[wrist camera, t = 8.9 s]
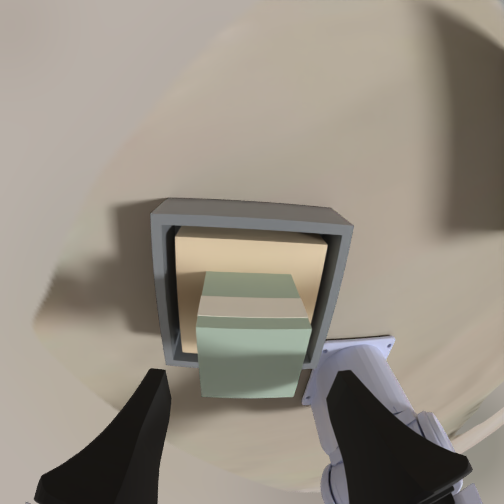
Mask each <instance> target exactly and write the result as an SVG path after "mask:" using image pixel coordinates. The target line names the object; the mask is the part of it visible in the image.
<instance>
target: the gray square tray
mask: <svg viewBox="0 0 504 504" xmlns="http://www.w3.org/2000/svg"><path fill="white" fill-rule="evenodd" d="M150 217H151V240H152V256H153V269H154V280H155V290H156V299H157V308H158V316H159V323H160V330H161V337H162V344H163V350H164V356H165V361H166V365H171V366H181V367H193V368H199V364H198V353H185V352H183V351H182V342H181V332H180V320H179V308H178V293H177V275H176V251H175V236H176V234H177V233H178V231H179V229H180V228H181V226H201V227H222V228H241V229H259V230H275V231H291V232H306V233H318V234H319V235H320V236H321V237H322V239H323V240H324V241H325V242H326V243H327V245H328V246H327V251H326V256H325V261H324V266H323V271H322V276H321V281H320V286H319V290H318V295H317V299H316V303H315V308H314V312H313V316H312V320H311V324H310V325H311V327H312V331H311V335H310V339H309V343H308V347H307V351H306V355H305V358H304V362H303V366H302V369H315V368H317V365H318V362H319V359H320V356H321V353H322V350H323V346H324V343H325V340H326V337H327V333H328V330H329V327H330V323H331V320H332V316H333V313H334V309H335V305H336V302H337V298H338V294H339V290H340V286H341V282H342V278H343V274H344V270H345V266H346V261H347V257H348V252H349V248H350V243H351V238H352V233H353V228H354V225H352V224H351V223H350V222H348V221H347V220H346V219H345V218H343V217H342V216H341V215H340V214H338V213H337V212H336V211H334V210H333V209H332V208H326V207H316V206H305V205H294V204H282V203H269V202H254V201H238V200H219V199H195V198H167V199H166V200H165V201H164V202H162V203H161V204H160V205H159V206H158V207H157V208H156V209H155V210H154V211H153V212H152V213H150Z"/></svg>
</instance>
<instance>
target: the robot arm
mask: <svg viewBox="0 0 504 504" xmlns="http://www.w3.org/2000/svg"><path fill="white" fill-rule="evenodd" d="M394 342H395V338H394V336H384V337H374V338H362V339H348V340H330V341H325V343H324V346H323V350H324V351H323V350H322V353H321V356H320V359H319V362H318V365H317V368H315V369H312V372H311V375H310V378H309V381H308V384H307V387H306V390H305V392H304V395H303V398H302V401H301V402H302V405H311V408H312V412H313V416H314V420H315V423H316V427H317V431H318V435H319V439H320V443H321V446H322V448H323V450H324V451H325V452H326V454H328V455H329V457H330V461H331V464H329V465H327V466H326V467H325V469H324V471H323V474H322V478H321V494H322V498H323V501H324V503H325V504H483V503H482V501H481V498H480V496H479V493H478V491H477V489H476V487H475V484H474V483H472V484H470V485H469V486H467V487H466V488H464V489H463V490H461V491H460V489H461V487H462V485H463V478H464V477H466V476H467V475H468V474H469V473H471V472H472V470H473V469H472V467H471V465H470V463H469V461H468V459H467V457H466V456H464V455H461V454H458V453H456V452H455V450H454V448H453V446H452V444H451V442H450V440H449V438H448V436H447V434H446V433H445V431H444V429H443V427H442V426H441V424H440V422H439V421H438V419H437V418H436V416H435V415H434V414H433V413H432V412H426V411H422V412H420V413H419V414H418V415H417V414H416V413H415V412H414V410H413V408H412V406H411V404H410V402H409V400H408V399H407V397H406V395H405V393H404V391H403V389H402V388H401V386H400V384H399V382H398V380H397V379H396V377H395V375H394V373H393V372H392V370H391V368H390V366H389V365H388V363H387V361H386V359H387V357H388V355H389V352H390V350H391V348H392V346H393V344H394ZM325 349H326V350H325ZM170 408H171V394H170V390H169V385H168V380H167V375H166V370H162V369H153V368H151V369H149V371H148V372H147V374H146V376H145V377H144V379H143V380H142V382H141V384H140V385H139V387H138V388H137V389H136V391H135V392H134V394H133V395H132V397H131V398H130V399H129V401H128V402H127V403H126V405H125V406H124V407H123V409H122V410H121V411H120V412H119V413H118V415H117V416H116V417H115V418H114V420H113V421H112V422H111V423H110V424H109V425H108V426H107V427H106V428H105V430H104V431H103V432H102V433H101V434H100V435H99V436H98V437H96V438H95V439H94V440H93V441H92V442H91V443H90V444H89V445H88V446H86V447H85V448H84V449H83V450H82V451H80V452H79V453H78V454H76V455H75V456H73V457H72V458H70V459H69V460H68V461H66V462H65V463H63V464H62V465H60V466H58V467H56V468H55V469H53V470H51V471H49V472H47V473H45V474H43V475H42V476H41V478H40V480H39V483H38V486H37V490H36V493H35V497H34V500H35V501H36V502H37V503H39V504H157V501H158V478H159V467H160V460H161V456H162V451H163V446H164V441H165V437H166V432H167V428H168V423H169V417H170ZM459 491H460V492H459ZM25 504H30V503H28V502H26V503H25Z"/></svg>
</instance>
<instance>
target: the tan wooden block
mask: <svg viewBox="0 0 504 504" xmlns="http://www.w3.org/2000/svg"><path fill="white" fill-rule="evenodd" d="M327 246H328V245H327V243H326V242H325V241H324V240H323V239H322V237H321V236H320V235H319V234H318V233H306V232H291V231H275V230H259V229H241V228H222V227H201V226H181V228H180V229H179V231H178V233H177V234H176V236H175V251H176V275H177V293H178V308H179V320H180V332H181V342H182V351H183V352H185V353H198V351H197V337H196V323H197V318H198V317H197V315H198V309H199V304H200V299H201V296H202V291H203V286H204V281H205V275H206V271H213V272H238V273H267V274H291V275H292V278H293V280H294V283H295V286H296V288H297V291H298V293H299V296H300V298H301V299H302V302H303V305H304V307H305V310H306V312H307V315H308V319H309V322H310V324H311V320H312V316H313V312H314V308H315V303H316V299H317V295H318V290H319V286H320V281H321V276H322V271H323V266H324V261H325V256H326V251H327Z"/></svg>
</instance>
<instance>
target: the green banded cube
mask: <svg viewBox="0 0 504 504" xmlns="http://www.w3.org/2000/svg"><path fill="white" fill-rule="evenodd" d="M197 317H198V318H197V323H196V337H197V351H198V364H199V375H200V385H201V395H202V397H216V398H280V397H294V394H295V390H296V387H297V384H298V380H299V377H300V373H301V369H302V366H303V362H304V358H305V355H306V351H307V347H308V343H309V339H310V335H311V331H312V327H311V325H310V322H309V319H308V315H307V312H306V310H305V307H304V305H303V302H302V299H301V298H300V296H299V293H298V291H297V288H296V286H295V283H294V280H293V278H292V275H291V274H267V273H238V272H213V271H206V275H205V281H204V286H203V291H202V296H201V299H200V304H199V309H198V315H197Z"/></svg>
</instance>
